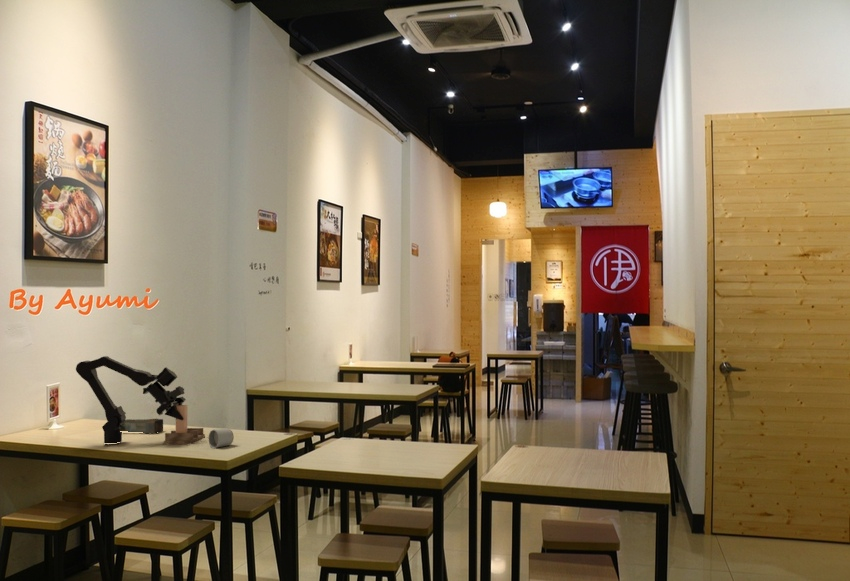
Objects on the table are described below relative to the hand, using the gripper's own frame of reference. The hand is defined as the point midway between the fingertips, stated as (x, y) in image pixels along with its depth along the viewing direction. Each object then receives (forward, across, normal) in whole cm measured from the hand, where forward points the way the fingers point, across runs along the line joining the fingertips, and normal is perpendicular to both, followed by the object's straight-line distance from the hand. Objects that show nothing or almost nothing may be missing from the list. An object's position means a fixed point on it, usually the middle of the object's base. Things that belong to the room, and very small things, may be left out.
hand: (184, 419), depth 305 cm
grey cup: (+21, -10, -6) cm, 24 cm away
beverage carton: (-14, +23, +29) cm, 39 cm away
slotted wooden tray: (+6, +3, +8) cm, 10 cm away
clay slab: (+4, 0, +6) cm, 7 cm away
